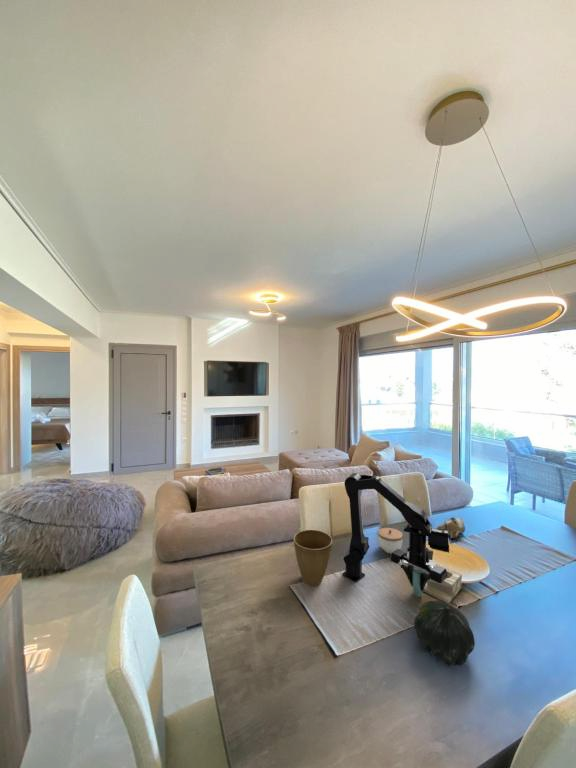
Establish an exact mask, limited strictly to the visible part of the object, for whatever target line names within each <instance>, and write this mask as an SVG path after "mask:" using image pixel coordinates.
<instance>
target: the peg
mask: <svg viewBox="0 0 576 768" xmlns="http://www.w3.org/2000/svg"><path fill="white" fill-rule="evenodd" d="M422 573H423V570H422V569H419V568H414V570H413V587H412V594H413V596H415V597H417V598H420V597H423V591H421V585H420V575H421V574H422Z"/></svg>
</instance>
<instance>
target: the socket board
mask: <svg viewBox="0 0 576 768" xmlns="http://www.w3.org/2000/svg"><path fill="white" fill-rule="evenodd" d="M436 565H438V566H440V567H443V568H445V569H446V570H447V578H449V579H447V578H446V579H445V580H444V581H443V582H442V583H438V582H436V581H433V580H431V579H430V580H427V583H426V585H425V588H424V590H423V591H422V592H424V593H426V594H428V595H429V596H433V597H434V598H437V600H439V601H441V602H445V603H448V604H450V603H451V601H452V600H453V599H454V598H455V596H456V595H458V593H459V591H461V589H462V583H463V581H462V579H463V575H462V574H461V573H460V572H457V571H455V570H453V569H450V568H447V567H445V566H443V565H440V564H436ZM461 581H462V582H461Z"/></svg>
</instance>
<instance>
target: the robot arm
mask: <svg viewBox="0 0 576 768" xmlns="http://www.w3.org/2000/svg"><path fill="white" fill-rule="evenodd" d="M344 487H345V491H346V492H345V493H346V495H347V497H348V500H349V509H350V512H349V513H350V523H351V526H350V527H351V537H350V543H349V549H348V550H347V552H346V553H345V555H344V557H343V562H344V564H345V571H344V572H342V576H344V577H346V578H347V579H349V580H351V581H353V582H355V583H356V582H358V581H360V580H361V579H362V578H364V577H365V576H366V573H365V572H363V562H362V561H363V560H364V558H365V556H366V555H367V553H368V551H369V549H370V544H369V540H370V539H369V536H365V534H364V526H363V525H364V524H363V515H362V513H363V511H362V499H361V498H362V497H361V496H362V492H363V490H369V489H373V490H375V491H376V492H377V493H379V495H381V496H382V497H383V498H384V499H385V500H386V501H388V502H389V503H390V505H392V506H393V507H395V508H396V509H397V510H398V511H399V513H400V514H401V516H402V517H403V518H404V520H405V521H406V522H407V524H406V525H404V526H403V529H402V531H403V532H404V533H408V547H407V549H406V550H407V552H408V553H407V552H406V551H404V550H402V549H401V548H400V549H397V550H395V551H394V552H392V553H390V555H389V561H391V562H393V563H395V564H396V565H398V564H399V563H401V564H400V568H401V569H402V570H403V573H405V575H406V577H407V579H408V581H409V584H410V586H411V587H412V588H413V570H414V569H415V568H416V569H418V570H421V571H422V574H421V575H420V585H421V591H422V592H424V591H423V590H424V588H425V585H426V583H427V580H430V579H431V580H433V581H436V582H438V583H442V582H443V581H444V580H445V579H446V578H447V570H446V569H445V568H446V567H445V568H443V567H444V566H443V567H440V566H438V565H439V564H438V565H436V564H434V565H431V564H429V563H430V561H433V558H434V557H433V555H434V550H435V551H440V552H443V553H448V554H449V553H450V535H449V532H448V531H444V530H437V529H436V528H433V525H432V524H431V522H430V521H429V519H428V518H427V513H426V512H425V510H424V509H423V508H421V507H420V506H418V505H417V504H415V503H412V502H410V501H408V500H406V499H405V498H404V497H403V496H402V495H401V494H399V493H398V492H397V491H396V490H394V489H393V488H392V487H391V486H390V485H389V484H388V483H386V482H385V481H384V480H383V479H382V478H381V477H380V476H379V475H369V474H360V473H356V472H354V473H351V474H350V475H349V476H348V477H347V478H346V479H345V480H344ZM427 545H428V546H429V547H427ZM429 548H430V549H429Z"/></svg>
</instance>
